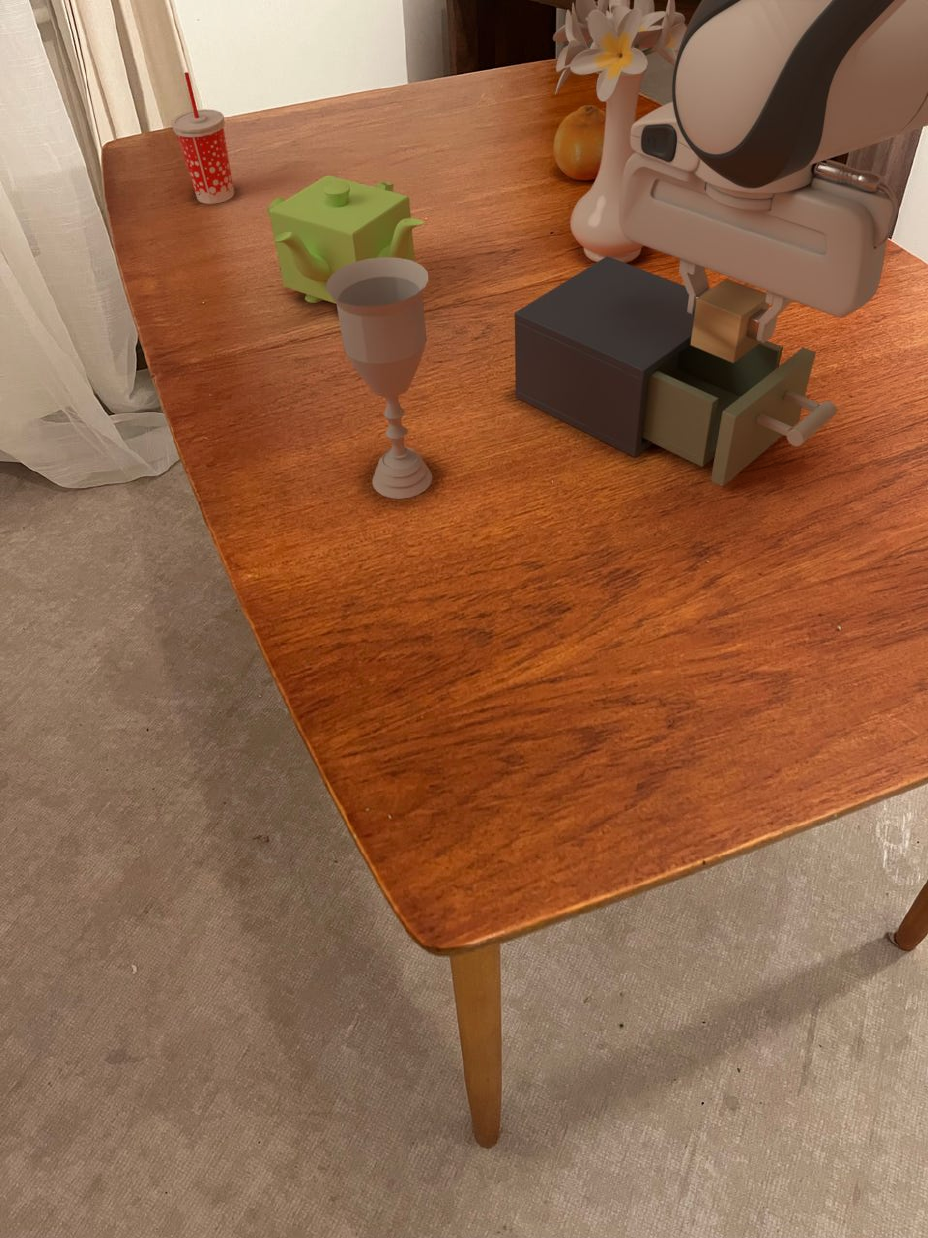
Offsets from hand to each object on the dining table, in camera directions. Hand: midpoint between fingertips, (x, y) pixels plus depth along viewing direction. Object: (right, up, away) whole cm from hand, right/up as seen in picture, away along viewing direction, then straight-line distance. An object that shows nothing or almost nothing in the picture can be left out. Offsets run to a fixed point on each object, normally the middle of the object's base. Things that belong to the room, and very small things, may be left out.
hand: (729, 324), depth 76 cm
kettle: (-33, +11, +27) cm, 44 cm away
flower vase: (-5, +18, +31) cm, 36 cm away
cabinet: (-7, -2, +13) cm, 15 cm away
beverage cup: (-51, +30, +45) cm, 75 cm away
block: (0, -1, +1) cm, 2 cm away
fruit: (-6, +32, +44) cm, 55 cm away
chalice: (-26, -11, +7) cm, 29 cm away
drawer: (+1, -7, +7) cm, 10 cm away
